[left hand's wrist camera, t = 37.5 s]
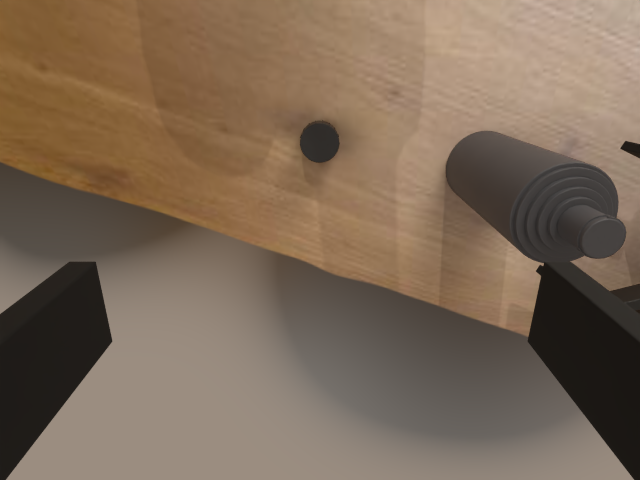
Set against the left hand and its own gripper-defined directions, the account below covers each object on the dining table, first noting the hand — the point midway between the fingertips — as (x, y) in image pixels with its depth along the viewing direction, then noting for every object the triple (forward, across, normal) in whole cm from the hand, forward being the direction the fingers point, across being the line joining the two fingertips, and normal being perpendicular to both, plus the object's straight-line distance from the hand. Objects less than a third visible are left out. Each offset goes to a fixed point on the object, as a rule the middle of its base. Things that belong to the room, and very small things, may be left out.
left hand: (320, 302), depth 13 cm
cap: (+31, 0, 0) cm, 32 cm away
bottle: (+34, +17, -3) cm, 38 cm away
